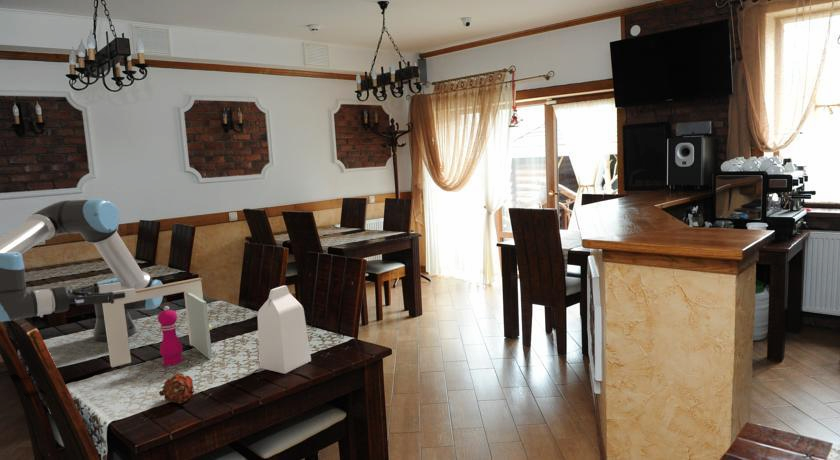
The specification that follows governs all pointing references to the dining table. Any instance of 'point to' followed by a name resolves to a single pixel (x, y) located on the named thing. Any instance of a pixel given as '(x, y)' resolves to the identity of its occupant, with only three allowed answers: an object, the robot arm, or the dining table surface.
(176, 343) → the pepper mill
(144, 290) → the door frame
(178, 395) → the dragon fruit
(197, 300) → the door
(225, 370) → the dining table surface
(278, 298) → the milk
